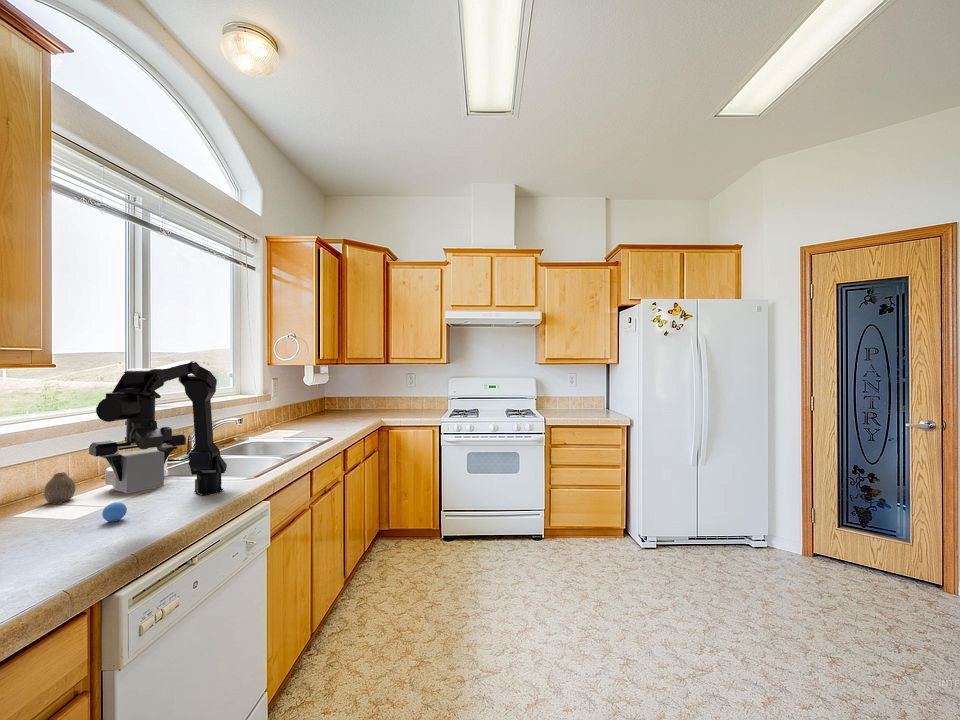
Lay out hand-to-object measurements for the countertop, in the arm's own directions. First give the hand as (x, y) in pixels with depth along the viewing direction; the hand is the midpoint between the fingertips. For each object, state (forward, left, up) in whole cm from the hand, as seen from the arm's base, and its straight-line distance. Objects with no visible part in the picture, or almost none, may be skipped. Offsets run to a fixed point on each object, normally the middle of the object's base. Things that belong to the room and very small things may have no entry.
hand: (139, 477), depth 106 cm
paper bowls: (-12, -45, -14) cm, 48 cm away
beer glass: (-22, -55, -14) cm, 61 cm away
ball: (+2, -13, -11) cm, 17 cm away
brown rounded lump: (+6, -47, -14) cm, 49 cm away
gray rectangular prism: (0, 0, -3) cm, 3 cm away
